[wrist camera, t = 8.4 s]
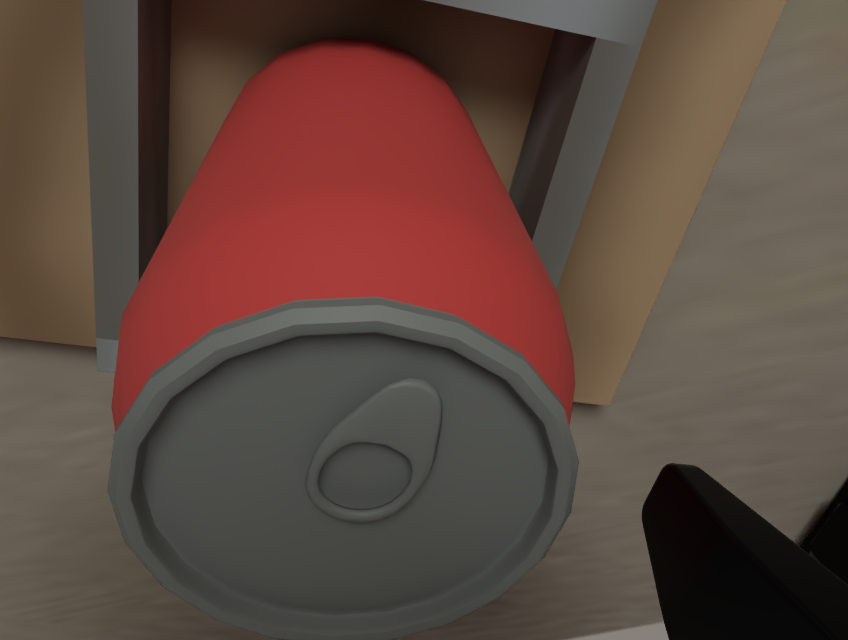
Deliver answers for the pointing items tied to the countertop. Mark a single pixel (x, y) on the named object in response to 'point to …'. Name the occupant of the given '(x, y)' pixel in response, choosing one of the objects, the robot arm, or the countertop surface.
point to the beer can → (343, 364)
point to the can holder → (438, 48)
